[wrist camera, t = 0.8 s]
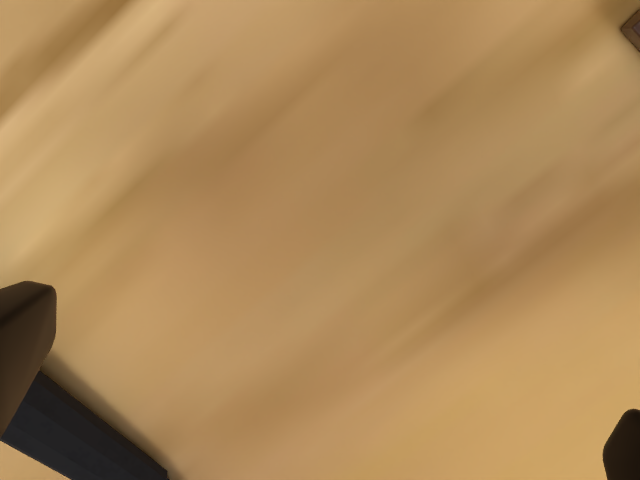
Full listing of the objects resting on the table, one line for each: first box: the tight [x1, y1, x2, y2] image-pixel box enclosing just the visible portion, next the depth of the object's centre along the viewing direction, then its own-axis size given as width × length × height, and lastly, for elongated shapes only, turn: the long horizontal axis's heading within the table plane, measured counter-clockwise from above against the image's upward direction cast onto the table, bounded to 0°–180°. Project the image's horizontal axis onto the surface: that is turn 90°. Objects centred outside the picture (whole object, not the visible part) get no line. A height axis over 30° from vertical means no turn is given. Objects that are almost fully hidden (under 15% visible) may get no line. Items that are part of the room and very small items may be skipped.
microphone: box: [0, 371, 169, 480], centre depth 25 cm, size 6×6×20 cm
